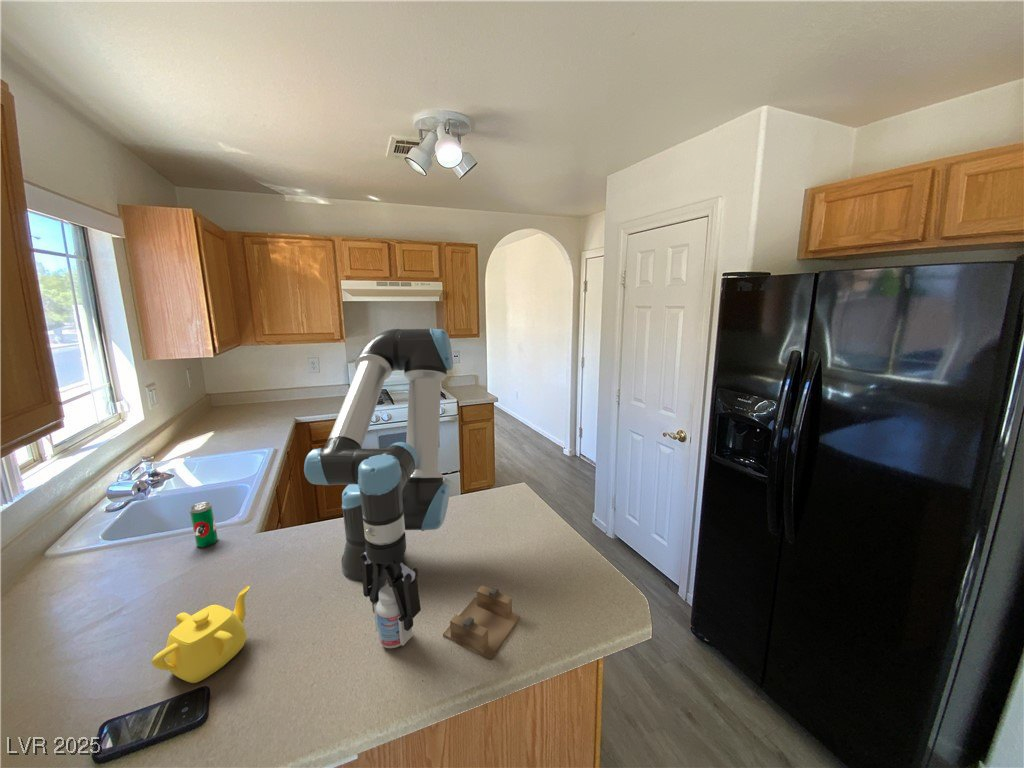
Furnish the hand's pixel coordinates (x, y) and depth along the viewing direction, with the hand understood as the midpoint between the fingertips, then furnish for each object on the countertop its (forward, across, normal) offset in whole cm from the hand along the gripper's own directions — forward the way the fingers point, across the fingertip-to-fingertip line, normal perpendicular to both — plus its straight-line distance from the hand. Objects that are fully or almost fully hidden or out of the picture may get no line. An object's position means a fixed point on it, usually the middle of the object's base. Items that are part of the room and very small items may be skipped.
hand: (394, 633), depth 84 cm
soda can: (+3, -73, -2) cm, 73 cm away
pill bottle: (+1, 0, 0) cm, 1 cm away
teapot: (+2, -29, -20) cm, 35 cm away
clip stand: (+2, +14, +12) cm, 18 cm away
